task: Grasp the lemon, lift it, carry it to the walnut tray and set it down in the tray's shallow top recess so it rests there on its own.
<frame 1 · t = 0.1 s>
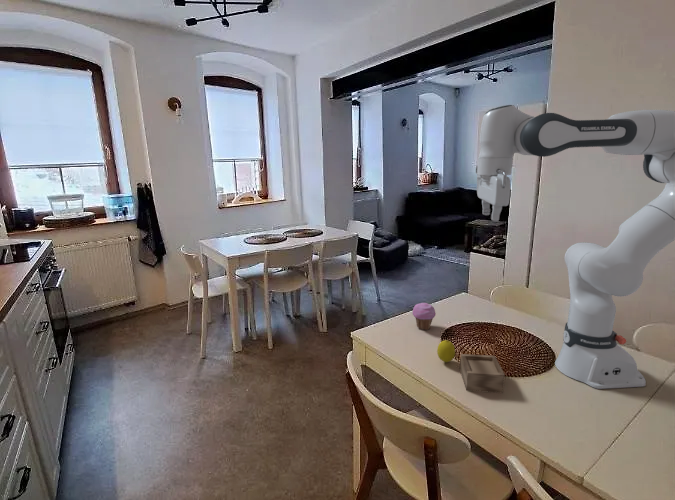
hand: (490, 217, 103), 48 cm above the table, fingers open, 8 cm apart
lemon: (445, 362, 117), on the table
walnut tray: (480, 381, 107), on the table
cupcake: (423, 327, 141), on the table
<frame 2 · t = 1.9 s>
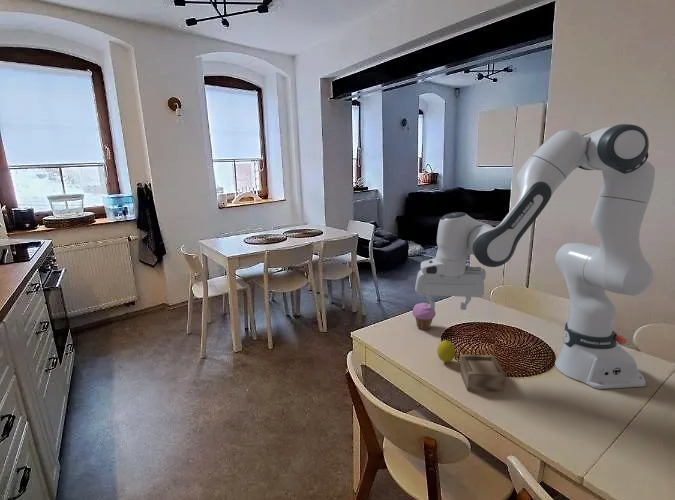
hand: (447, 308, 112), 19 cm above the table, fingers open, 8 cm apart
nothing on the table moved.
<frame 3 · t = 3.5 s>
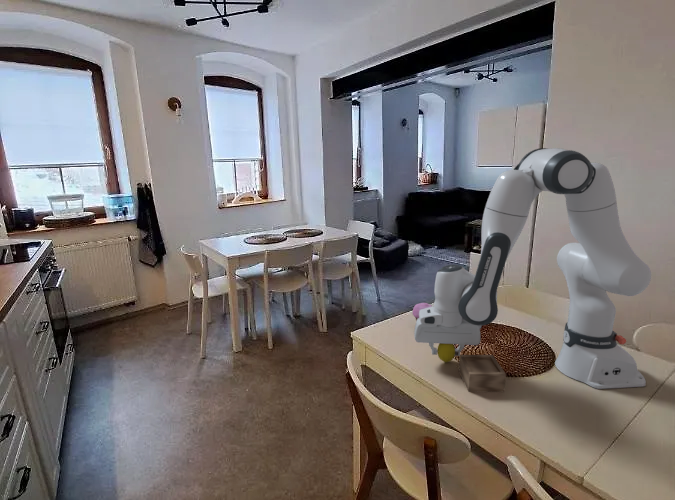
hand: (445, 354, 116), 3 cm above the table, fingers closed on lemon, 6 cm apart
lemon: (445, 362, 117), on the table, touching gripper
everything else where it was.
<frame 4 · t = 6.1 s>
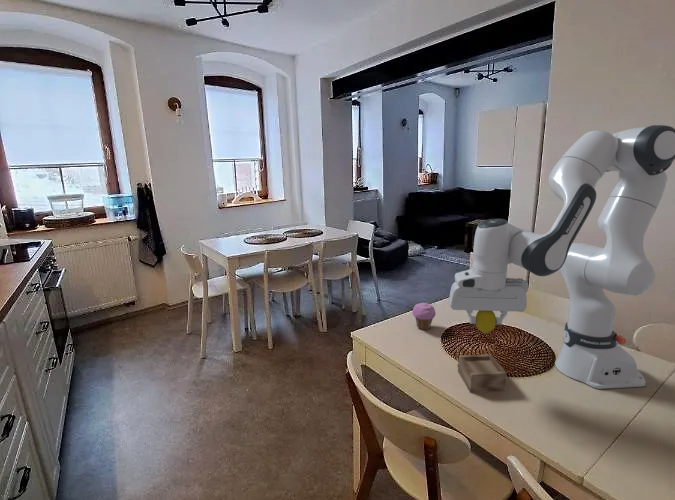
hand: (485, 323, 102), 19 cm above the table, fingers closed on lemon, 5 cm apart
lemon: (484, 333, 103), point 15 cm above the table, touching gripper
everything else where it was.
when the fingers open (9 cm above the table, at t = 8.4 s): lemon drops 1 cm, resting on walnut tray.
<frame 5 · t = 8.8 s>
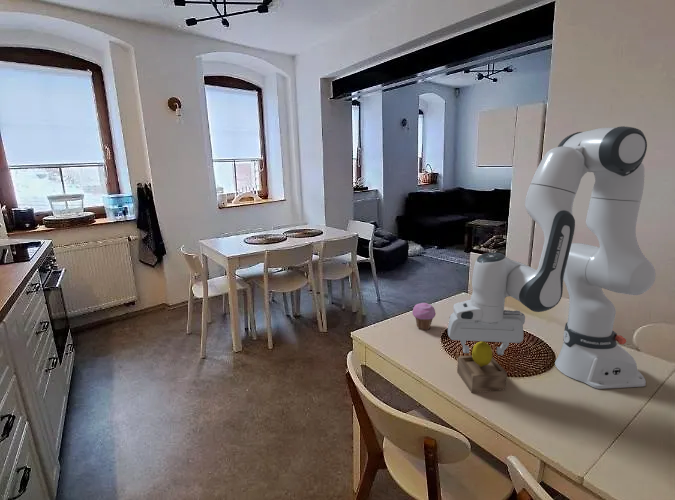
hand: (482, 353, 104), 9 cm above the table, fingers open, 8 cm apart
lemon: (480, 367, 106), point 5 cm above the table, touching walnut tray
walnut tray: (480, 381, 107), on the table, touching lemon
everything else where it was.
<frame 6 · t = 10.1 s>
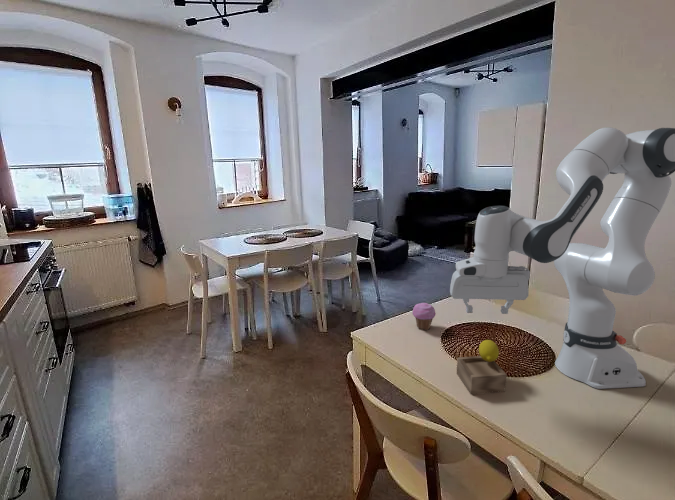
hand: (486, 312, 101), 22 cm above the table, fingers open, 8 cm apart
lemon: (489, 360, 104), point 8 cm above the table
walnut tray: (479, 383, 106), on the table
everything else where it was.
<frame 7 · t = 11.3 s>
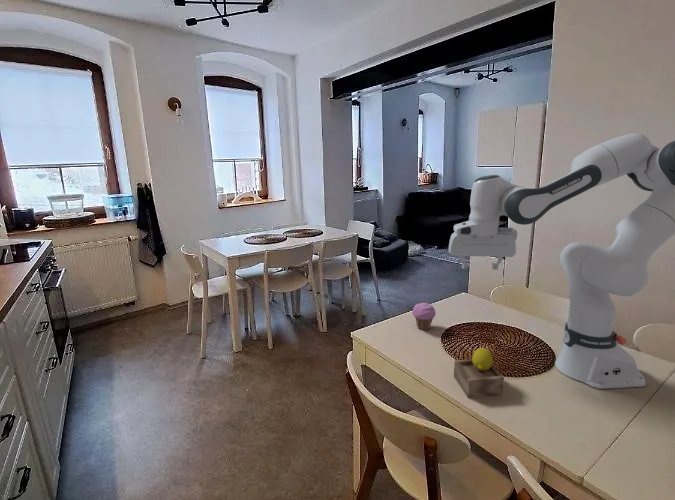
hand: (479, 268, 117), 29 cm above the table, fingers open, 8 cm apart
lemon: (480, 369, 101), point 6 cm above the table, touching walnut tray
walnut tray: (476, 386, 105), on the table, touching lemon
everything else where it was.
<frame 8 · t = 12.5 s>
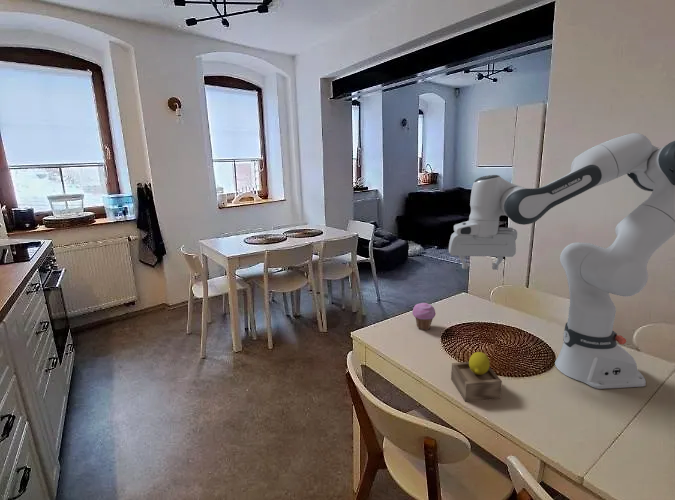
hand: (479, 268, 117), 29 cm above the table, fingers open, 8 cm apart
lemon: (477, 373, 99), point 7 cm above the table, touching walnut tray
walnut tray: (474, 389, 104), on the table, touching lemon
everything else where it was.
at the end: lemon inside the target area on the walnut tray (2.6 cm from its centre), point 7.3 cm above the walnut tray's base; lemon touching walnut tray; the gripper is holding nothing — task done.
